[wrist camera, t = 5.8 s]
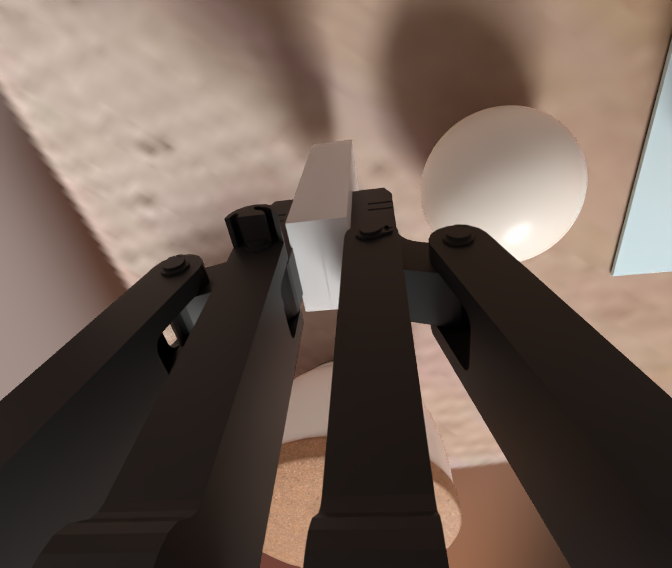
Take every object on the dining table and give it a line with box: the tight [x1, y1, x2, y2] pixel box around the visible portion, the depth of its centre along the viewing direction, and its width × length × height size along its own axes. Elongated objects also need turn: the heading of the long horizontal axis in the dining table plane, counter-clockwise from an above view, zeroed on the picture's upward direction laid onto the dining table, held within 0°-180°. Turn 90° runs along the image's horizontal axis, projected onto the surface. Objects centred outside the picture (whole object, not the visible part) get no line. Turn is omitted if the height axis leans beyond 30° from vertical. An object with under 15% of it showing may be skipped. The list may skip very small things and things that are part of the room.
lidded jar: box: [263, 361, 462, 568], centre depth 22 cm, size 11×11×9 cm
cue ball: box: [420, 105, 588, 262], centre depth 15 cm, size 6×6×6 cm
